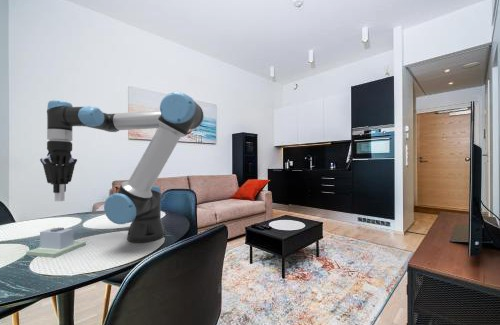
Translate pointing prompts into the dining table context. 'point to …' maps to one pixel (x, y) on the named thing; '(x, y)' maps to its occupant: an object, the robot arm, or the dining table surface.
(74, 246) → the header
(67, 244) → the plug
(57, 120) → the robot arm
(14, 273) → the dining table surface
